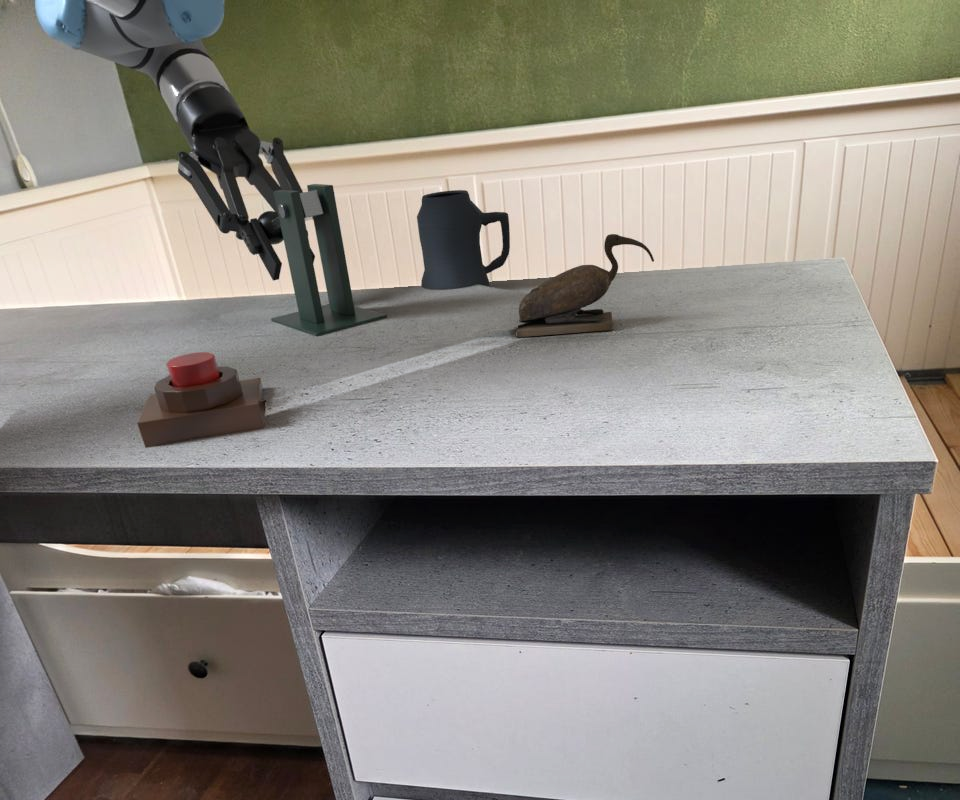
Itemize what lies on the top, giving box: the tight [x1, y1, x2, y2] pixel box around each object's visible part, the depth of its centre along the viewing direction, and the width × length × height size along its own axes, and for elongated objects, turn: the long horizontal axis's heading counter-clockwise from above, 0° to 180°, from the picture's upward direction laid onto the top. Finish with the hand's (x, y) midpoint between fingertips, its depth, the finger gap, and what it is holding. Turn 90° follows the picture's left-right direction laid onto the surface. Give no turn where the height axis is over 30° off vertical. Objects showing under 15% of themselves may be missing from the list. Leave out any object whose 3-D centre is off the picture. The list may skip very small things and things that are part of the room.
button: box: [166, 351, 220, 387], centre depth 75 cm, size 4×4×2 cm
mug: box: [416, 189, 511, 291], centre depth 109 cm, size 12×9×11 cm
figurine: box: [515, 233, 655, 338], centre depth 89 cm, size 14×4×9 cm, turn 84°
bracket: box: [270, 183, 388, 337], centre depth 98 cm, size 12×9×15 cm
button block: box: [137, 365, 267, 448], centre depth 76 cm, size 10×8×4 cm
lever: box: [257, 190, 324, 246], centre depth 99 cm, size 14×4×4 cm, turn 36°
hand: (293, 268), depth 103 cm, fingers closed on lever, 4 cm apart
